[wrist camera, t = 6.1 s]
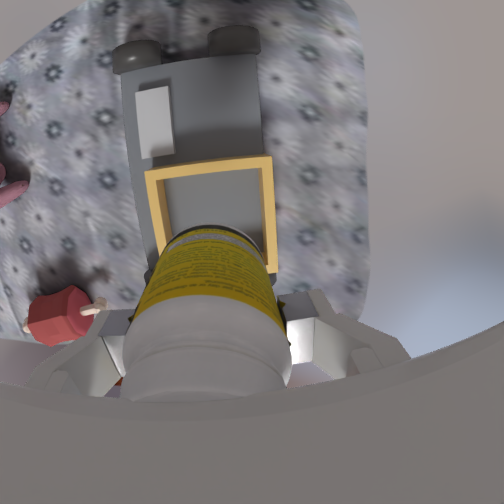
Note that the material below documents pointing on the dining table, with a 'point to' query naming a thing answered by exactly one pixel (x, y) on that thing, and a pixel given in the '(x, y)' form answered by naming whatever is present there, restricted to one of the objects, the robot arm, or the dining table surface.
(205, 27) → the dining table surface
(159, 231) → the chassis
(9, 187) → the video game controller
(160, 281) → the supplement bottle
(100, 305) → the meat
